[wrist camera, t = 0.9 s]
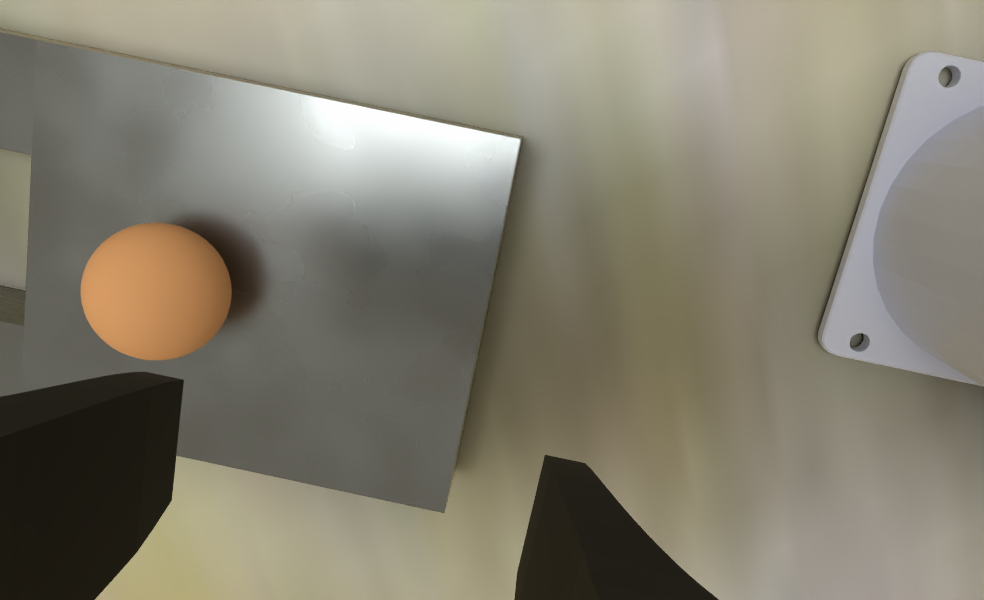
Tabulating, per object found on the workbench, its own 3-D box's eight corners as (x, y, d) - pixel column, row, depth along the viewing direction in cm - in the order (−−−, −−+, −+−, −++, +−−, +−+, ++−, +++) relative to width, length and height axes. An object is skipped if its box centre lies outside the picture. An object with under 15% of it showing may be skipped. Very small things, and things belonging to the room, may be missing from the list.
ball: (259, 228, 19) (202, 251, 15) (244, 349, 19) (187, 394, 16) (133, 202, 19) (52, 219, 16) (124, 323, 19) (44, 363, 16)
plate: (523, 136, 20) (520, 139, 18) (454, 470, 22) (444, 512, 20) (-126, 2, 20) (-217, -13, 18) (-124, 346, 23) (-203, 374, 20)
